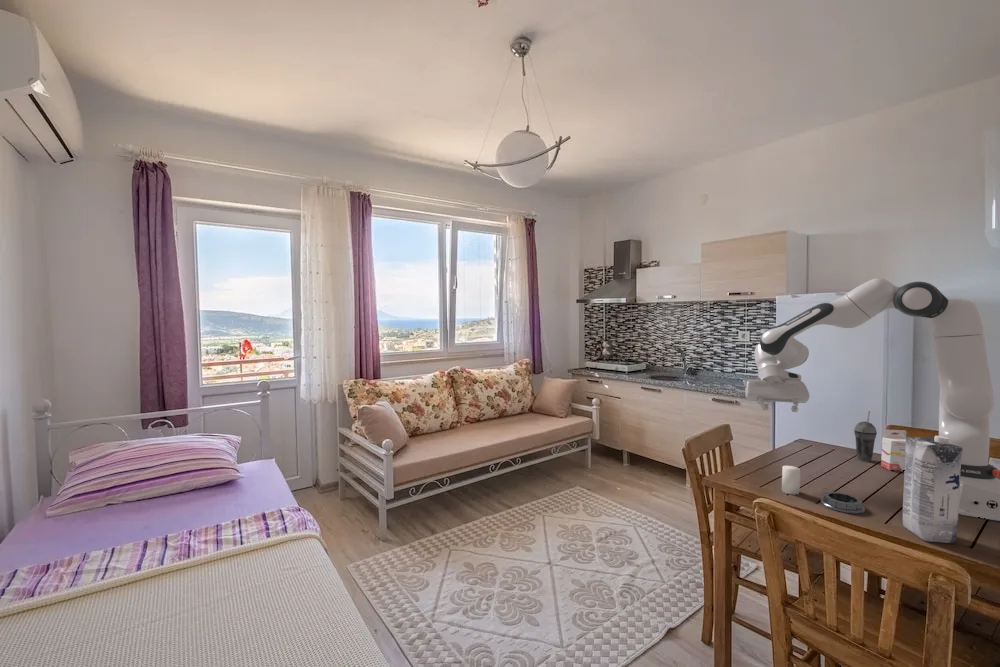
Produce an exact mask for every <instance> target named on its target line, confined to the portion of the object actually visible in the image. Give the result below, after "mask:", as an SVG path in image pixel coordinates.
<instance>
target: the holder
mask: <svg viewBox="0 0 1000 667" xmlns="http://www.w3.org/2000/svg"><path fill="white" fill-rule="evenodd" d="M820 504H821V505H822V506H824V507H825V508H828V509H830V510H833V511H835V510H836V512H839V511H840V512H839V513H843V512H844V513H845V514H849V515H861V514H863V513H866V508H865V506H864V505H863V500H862V499H861V498H859V497H858V496H855V495H852V494H850V493H845V492H839V491H827V492H824V493H823V497H822V498H820Z"/></svg>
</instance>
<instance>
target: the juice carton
mask: <svg viewBox="0 0 1000 667" xmlns="http://www.w3.org/2000/svg"><path fill="white" fill-rule="evenodd" d="M949 440H950V439H949V438H947V437H942V436H939V435H934V437H926V436H925V437H924V436H906V451H905V471H904V472H903V473H904V475H903V497H902V499H903V500H902V526H903V527H904V528H905V529H906V530H908V531H910V532H911V533H913V534H914V535H915V536H917V537H918V538H919V539H921V540H922V541H925V542H931V543H944V544H956V543H957V540H958V539H957V537H958V528H959V527H958V526H959V513H958V511H959V492H960V473H961V456H962V449H963V448H962V447H960V446H957V445H953V444H949Z"/></svg>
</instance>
